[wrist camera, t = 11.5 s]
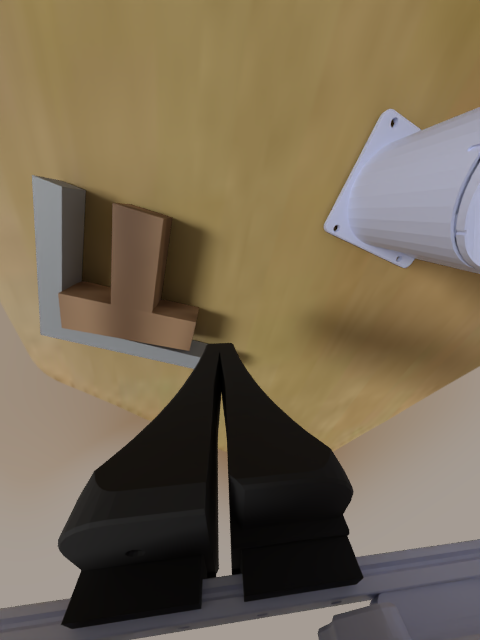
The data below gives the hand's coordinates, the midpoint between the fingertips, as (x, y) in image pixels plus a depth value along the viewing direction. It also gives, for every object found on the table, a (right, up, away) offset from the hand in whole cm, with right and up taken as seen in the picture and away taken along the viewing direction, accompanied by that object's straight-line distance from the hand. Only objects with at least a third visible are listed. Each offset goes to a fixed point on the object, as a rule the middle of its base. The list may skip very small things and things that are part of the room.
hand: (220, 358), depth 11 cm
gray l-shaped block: (-6, +5, +8) cm, 11 cm away
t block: (-7, +6, +7) cm, 12 cm away
